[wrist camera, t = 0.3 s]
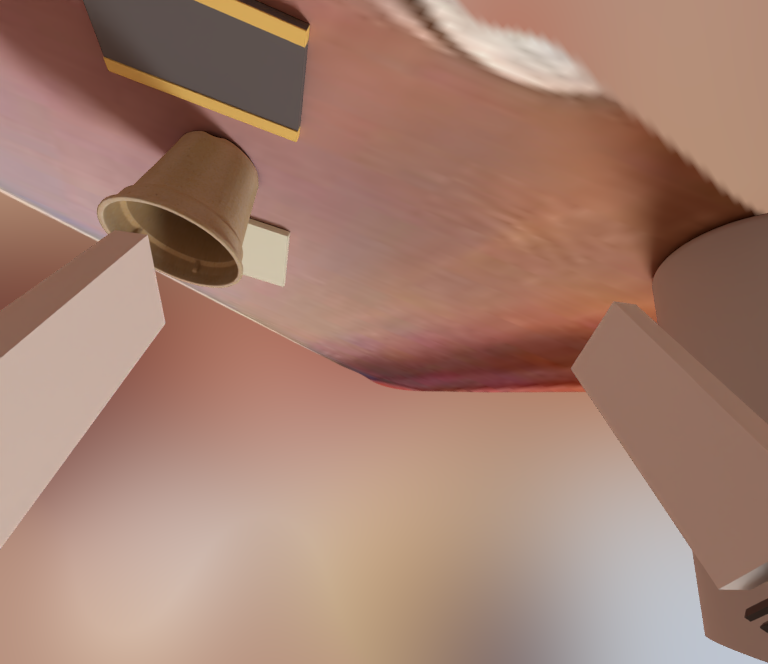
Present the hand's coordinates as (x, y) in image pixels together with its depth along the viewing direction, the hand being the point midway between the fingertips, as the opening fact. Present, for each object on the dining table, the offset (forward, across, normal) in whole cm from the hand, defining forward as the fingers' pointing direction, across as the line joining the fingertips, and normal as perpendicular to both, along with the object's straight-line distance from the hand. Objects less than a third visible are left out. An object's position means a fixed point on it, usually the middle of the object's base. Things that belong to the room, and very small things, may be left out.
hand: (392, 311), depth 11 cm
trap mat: (+19, -11, +5) cm, 22 cm away
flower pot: (+23, -12, -3) cm, 26 cm away
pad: (+28, -13, -12) cm, 34 cm away
